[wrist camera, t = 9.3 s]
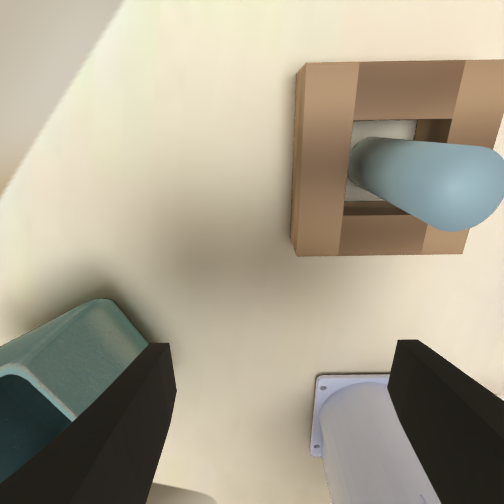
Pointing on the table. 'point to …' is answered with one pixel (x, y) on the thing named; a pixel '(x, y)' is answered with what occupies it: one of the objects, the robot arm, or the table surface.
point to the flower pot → (59, 375)
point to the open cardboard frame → (381, 108)
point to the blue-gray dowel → (431, 179)
